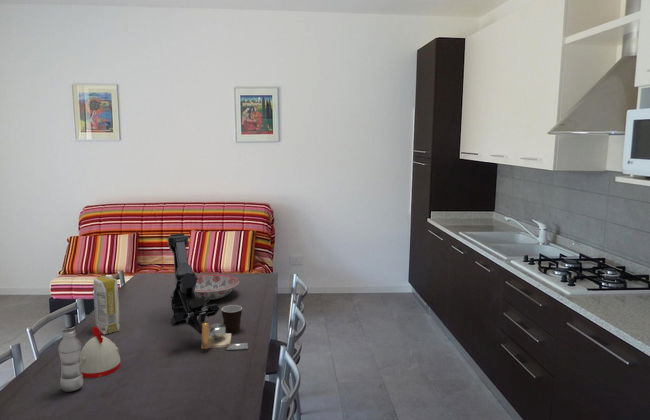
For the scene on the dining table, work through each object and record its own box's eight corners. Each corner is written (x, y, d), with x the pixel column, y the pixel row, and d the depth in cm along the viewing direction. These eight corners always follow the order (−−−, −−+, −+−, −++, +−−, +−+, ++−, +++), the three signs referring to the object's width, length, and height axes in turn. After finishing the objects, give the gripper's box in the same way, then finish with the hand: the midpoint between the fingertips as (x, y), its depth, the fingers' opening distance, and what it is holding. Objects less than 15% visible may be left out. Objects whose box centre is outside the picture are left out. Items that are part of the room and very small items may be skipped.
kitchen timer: (112, 355, 176) (110, 317, 174) (127, 368, 166) (124, 328, 164) (72, 367, 166) (69, 327, 164) (85, 382, 157) (82, 339, 155)
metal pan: (213, 333, 193) (212, 310, 192) (228, 335, 192) (228, 312, 190) (195, 347, 180) (195, 323, 179) (212, 350, 178) (211, 325, 177)
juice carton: (122, 331, 198) (119, 276, 195) (102, 336, 193) (99, 280, 189) (112, 324, 205) (109, 271, 201) (93, 330, 199) (90, 275, 195)
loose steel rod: (226, 344, 181) (227, 343, 184) (226, 350, 181) (227, 349, 184) (247, 343, 183) (247, 342, 185) (247, 349, 182) (247, 348, 185)
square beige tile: (201, 348, 183) (201, 341, 183) (204, 336, 194) (204, 329, 193) (230, 346, 185) (229, 339, 184) (231, 335, 196) (231, 328, 195)
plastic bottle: (66, 384, 155) (62, 326, 152) (87, 383, 156) (83, 326, 153) (56, 394, 149) (52, 335, 146) (79, 394, 149) (75, 334, 146)
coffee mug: (237, 336, 195) (237, 313, 194) (218, 334, 197) (218, 311, 195) (247, 325, 206) (247, 303, 205) (229, 323, 208) (229, 302, 207)
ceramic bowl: (250, 294, 247) (250, 280, 246) (209, 311, 223) (209, 295, 221) (211, 285, 262) (210, 271, 261) (168, 299, 238) (168, 284, 237)
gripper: (172, 293, 176) (185, 330, 170) (216, 284, 188) (231, 318, 182) (164, 308, 183) (177, 344, 177) (208, 297, 195) (221, 331, 189)
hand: (202, 333), depth 181 cm, fingers closed
